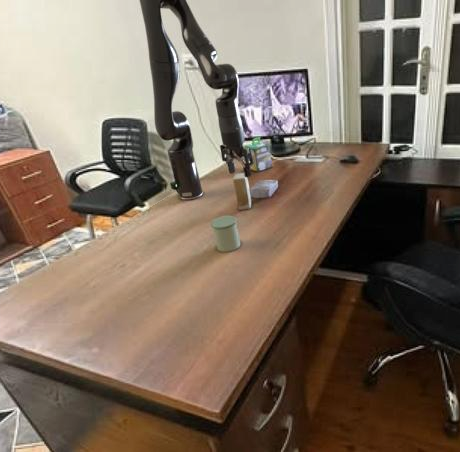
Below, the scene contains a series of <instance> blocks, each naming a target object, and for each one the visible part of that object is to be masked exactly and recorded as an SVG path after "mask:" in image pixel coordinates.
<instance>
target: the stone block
mask: <svg viewBox="0 0 460 452" xmlns="http://www.w3.org/2000/svg"><path fill="white" fill-rule="evenodd" d="M278 188H279V181H278V180H272V179H263V180H259V181H257V182H255V183H254V184H253V185H251V187H250V188H249V191H250V197H251V198H254V199H270V198H271V197H272V196H273V194H274V193H275V192H276V190H277V189H278Z"/></svg>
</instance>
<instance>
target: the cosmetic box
mask: <svg viewBox="0 0 460 452" xmlns="http://www.w3.org/2000/svg"><path fill="white" fill-rule="evenodd" d="M232 180H233V186H234V191H235V196H236V201H237V207H238V211H242V210H250V209H251V208H252V197H251V196H250V191H249V190H250V186H249V179H248V177H245V175H244V172H237V173H234V174H233V178H232Z"/></svg>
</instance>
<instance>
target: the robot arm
mask: <svg viewBox="0 0 460 452" xmlns="http://www.w3.org/2000/svg"><path fill="white" fill-rule="evenodd" d="M139 5H140V10H141V15H142V18H143V23H144V28H145V35H146V43H147V49H148V61H149V68H150V75H151V81H152V82H151V83H152V90H153V92H152V93H153V110H154V111H153V113H154V115H153V116H154V127H155V130H156V133H157V135H158V137H160V139H162V140H163V141H167V142H168V141H172V143H171V144H170V146H169V147H168V148H167V153H166V154H167V156H168V159H169V163H170V167H171V171H172V174H173V175H172V176H173V179H174V181H172V182H169V185H170V188H171V190H173V191H176V193H177V195H178V197H179V199H180V200H183V201H190V200H191V201H192V200H196V199H198V198H201V197H202V196H203V195H204V191H203V188H202V183H201V179H200V176H199V170H198V167H197V163H196V159H195V153H194V150H193V149H194V140H193V135H192V130H191V125H190V122H189V120H188V117H187V116H186V114H185V113H184V112H181V111H178V110H174V111H173V102H174V101H173V100H174V97H175V93H176V92H177V91H176V90H177V88H178V85H179V82H180V76H181V69H180V59H179V53H178V51H177V49H176V48H175V46H174V44H173V42H172V41H171V39H170V37H169V36H168V34H167V31H166V30H165V28H164V23H163V18H162V11H161V10H162V9H165V10H170V11H171V13H173V15H174V16H175V17H176V18H177V20H178V22H179V26H180V32H181V38H182V41H183V44H184V45H185V47H186V48H187V50H188V51H189V53H190V54H191V55H192V57H193V58H194V60H195V61H196V63H197V66H198V68H199V70H200V73H201V75H202V78H203V81H204V82H205V84H206V85H207V86H208V87H209V88H210V89H212V90H215V91H219V90H221V95H220V96H219V97H217V98H215V101H214V102H215V109H216V114H217V120H218V128H219V133H220V137H221V142H222V144H220V145H219V148H220V154H221V160H222V162H225V163H226V164H227V168H228V169H227V170H228V172H229V174H231V175H232V174H236V167H235V163H234V160H237V162H238V163H240V164H241V166H242V169H243V173H244V175H245V177H247V178H250V177H251V175H252V172H251V171H252V170H251V169H250V165H253V164H254V163H253V158H252V153H251V149H250V147H248V148H244V146H245V145H244V143H245V141H246V138H245V134H244V128H243V121H242V119H241V115H240V109H239V105H238V98H239V97H238V95H239V74H238V71H237V70H236V68H235V66H234V65H232V64H231V63H220V64H216V63H215V61H216V60H217V58H218V51H217V50H216V48H215V46H214V45H213V44H212V42H211V41H210V39H209V38H208V37H207V35H206V34H205V32H204V31H203V29H202V28H201V26H200V25H199V23H198V21H197V19H196V17H195V15H194V14H193V11H192V10H191V7H190V5H189V4H188V2H187V0H139ZM248 159H250V162H249V161H248Z"/></svg>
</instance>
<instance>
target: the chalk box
mask: <svg viewBox="0 0 460 452" xmlns="http://www.w3.org/2000/svg"><path fill="white" fill-rule="evenodd" d="M243 146H244V148H248V147H250V149H251V153H252V158H253V163H254V164H253V165H250V171H254V172H258V173H259V172H261V171H264V170H267V169H270V168H273V163H272V162H273V161H272V155H271V148H270V143H268V142H262V141H261V136H259V137H255V138H252V142H251V143H248V144H245V145H243ZM248 161H249V162H250V159H248Z"/></svg>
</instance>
